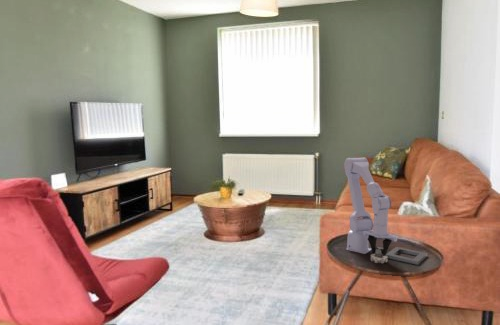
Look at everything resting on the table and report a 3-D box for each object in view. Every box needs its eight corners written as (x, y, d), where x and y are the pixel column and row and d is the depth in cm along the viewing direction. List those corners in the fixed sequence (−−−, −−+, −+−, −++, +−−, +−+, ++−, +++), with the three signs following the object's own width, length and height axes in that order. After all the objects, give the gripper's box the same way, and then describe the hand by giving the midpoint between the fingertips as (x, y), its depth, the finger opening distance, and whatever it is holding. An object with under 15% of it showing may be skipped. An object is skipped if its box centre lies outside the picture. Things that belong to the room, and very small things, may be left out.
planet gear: (367, 260, 179) (368, 248, 178) (374, 256, 185) (374, 244, 184) (383, 264, 175) (384, 252, 174) (389, 260, 180) (390, 247, 180)
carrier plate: (385, 257, 183) (385, 254, 183) (396, 249, 194) (396, 246, 194) (417, 265, 174) (417, 261, 174) (427, 256, 185) (427, 253, 185)
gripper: (360, 222, 179) (359, 252, 181) (393, 228, 170) (392, 260, 172) (367, 219, 185) (366, 248, 186) (399, 225, 176) (398, 255, 177)
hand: (379, 254), depth 179 cm, fingers open, 4 cm apart
